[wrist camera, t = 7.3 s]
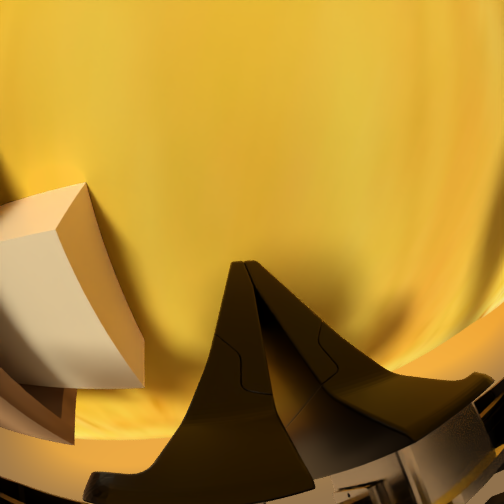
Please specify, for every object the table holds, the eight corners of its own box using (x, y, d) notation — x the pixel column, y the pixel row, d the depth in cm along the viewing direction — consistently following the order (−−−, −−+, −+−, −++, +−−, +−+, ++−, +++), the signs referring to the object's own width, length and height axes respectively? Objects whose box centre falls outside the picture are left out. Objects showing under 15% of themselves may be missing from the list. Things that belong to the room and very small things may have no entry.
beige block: (89, 176, 7) (55, 229, 5) (144, 332, 12) (144, 387, 10) (-65, 228, 5) (-94, 270, 3) (3, 337, 10) (-8, 378, 8)
